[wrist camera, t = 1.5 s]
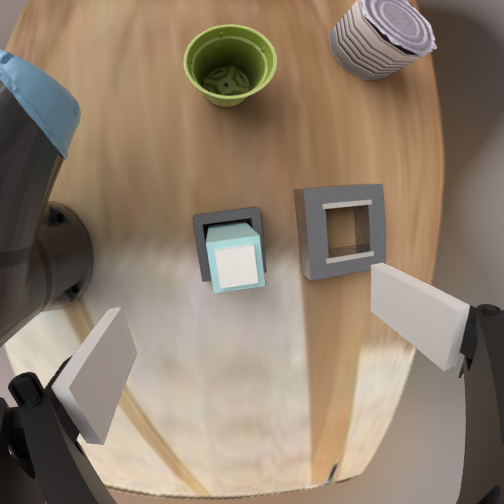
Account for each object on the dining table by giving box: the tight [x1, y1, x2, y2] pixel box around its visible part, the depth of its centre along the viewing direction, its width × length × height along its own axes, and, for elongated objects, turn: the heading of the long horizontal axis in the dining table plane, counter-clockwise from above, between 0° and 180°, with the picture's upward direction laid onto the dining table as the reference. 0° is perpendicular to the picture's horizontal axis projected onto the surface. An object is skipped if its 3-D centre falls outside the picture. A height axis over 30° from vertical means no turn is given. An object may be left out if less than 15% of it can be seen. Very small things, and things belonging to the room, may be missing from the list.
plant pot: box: [184, 25, 277, 107], centre depth 27 cm, size 9×9×9 cm
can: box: [328, 0, 437, 80], centre depth 26 cm, size 11×11×12 cm
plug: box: [206, 221, 265, 294], centre depth 29 cm, size 4×4×13 cm
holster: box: [192, 207, 266, 282], centre depth 34 cm, size 8×8×3 cm
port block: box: [294, 184, 386, 281], centre depth 35 cm, size 11×11×4 cm
